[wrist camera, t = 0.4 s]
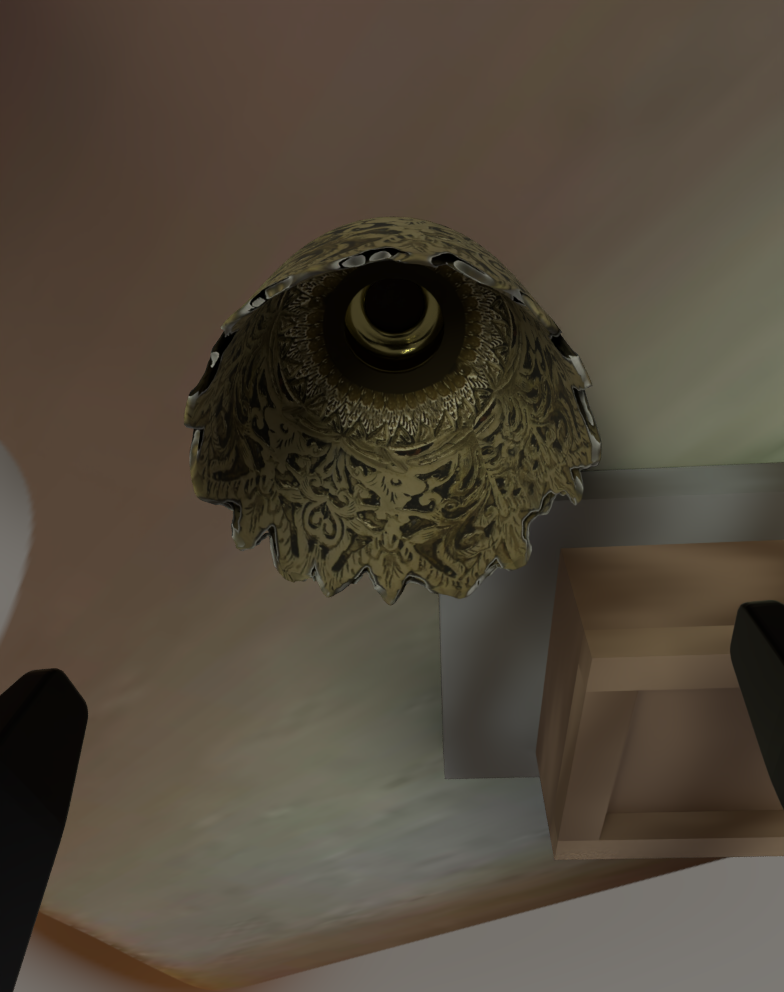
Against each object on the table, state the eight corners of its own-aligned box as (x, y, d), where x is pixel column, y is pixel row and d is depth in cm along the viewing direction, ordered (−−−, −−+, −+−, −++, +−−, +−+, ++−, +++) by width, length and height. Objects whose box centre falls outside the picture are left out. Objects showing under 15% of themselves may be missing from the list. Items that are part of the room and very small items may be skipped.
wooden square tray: (1067, 449, 21) (1264, 585, 16) (875, 738, 31) (963, 876, 26) (435, 477, 22) (444, 613, 17) (443, 749, 32) (450, 883, 27)
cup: (428, 457, 21) (440, 654, 15) (217, 342, 19) (124, 517, 13) (586, 261, 18) (693, 413, 11) (346, 86, 15) (306, 154, 9)
